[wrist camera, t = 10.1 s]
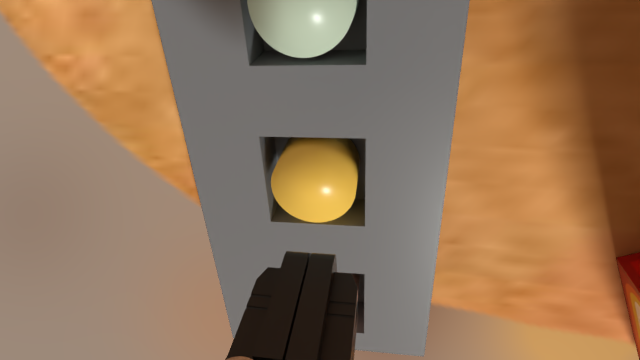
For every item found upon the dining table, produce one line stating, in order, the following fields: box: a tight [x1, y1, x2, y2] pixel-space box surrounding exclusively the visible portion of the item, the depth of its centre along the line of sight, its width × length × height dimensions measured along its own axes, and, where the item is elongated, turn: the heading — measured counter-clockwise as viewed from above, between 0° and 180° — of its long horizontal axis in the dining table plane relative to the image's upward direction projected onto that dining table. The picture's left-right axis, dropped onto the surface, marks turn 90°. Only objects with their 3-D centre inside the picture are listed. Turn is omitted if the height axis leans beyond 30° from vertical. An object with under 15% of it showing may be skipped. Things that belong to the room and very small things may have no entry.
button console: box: [152, 0, 470, 356], centre depth 21 cm, size 24×12×3 cm, turn 3°
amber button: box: [271, 137, 360, 222], centre depth 20 cm, size 4×4×3 cm
